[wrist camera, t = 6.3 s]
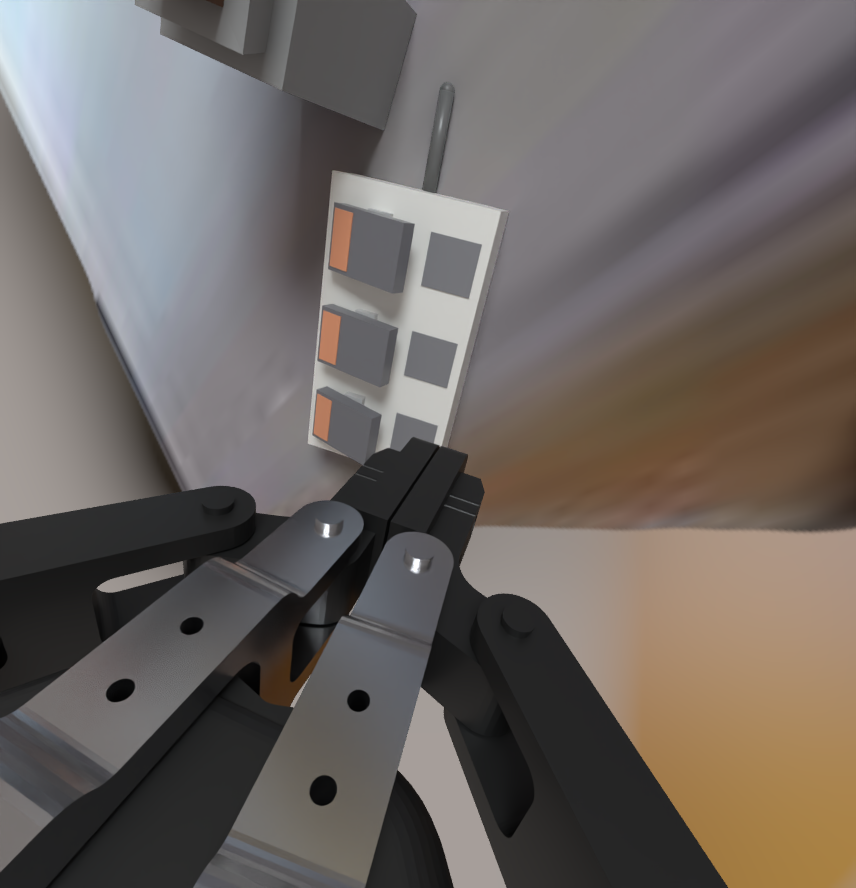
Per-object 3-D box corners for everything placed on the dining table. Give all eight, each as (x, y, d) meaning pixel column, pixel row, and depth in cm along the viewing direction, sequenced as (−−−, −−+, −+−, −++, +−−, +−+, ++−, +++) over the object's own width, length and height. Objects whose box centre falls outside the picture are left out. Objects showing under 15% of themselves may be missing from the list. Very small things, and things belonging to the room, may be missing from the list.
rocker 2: (398, 328, 34) (389, 331, 33) (388, 383, 36) (379, 387, 35) (332, 303, 36) (321, 305, 35) (326, 357, 38) (316, 361, 37)
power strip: (537, 102, 31) (531, 85, 27) (443, 464, 45) (429, 489, 41) (368, 67, 33) (337, 47, 28) (328, 425, 46) (303, 446, 42)
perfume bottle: (383, 130, 34) (219, 66, 19) (302, 92, 34) (74, -2, 19) (416, 13, 31) (248, -185, 15) (325, -27, 31) (70, -261, 16)
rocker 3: (381, 414, 37) (371, 419, 36) (373, 461, 39) (363, 466, 38) (327, 386, 40) (315, 389, 39) (322, 431, 42) (311, 435, 41)
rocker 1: (414, 223, 30) (403, 222, 29) (403, 292, 33) (391, 293, 32) (346, 203, 33) (333, 201, 32) (339, 268, 35) (327, 269, 34)
